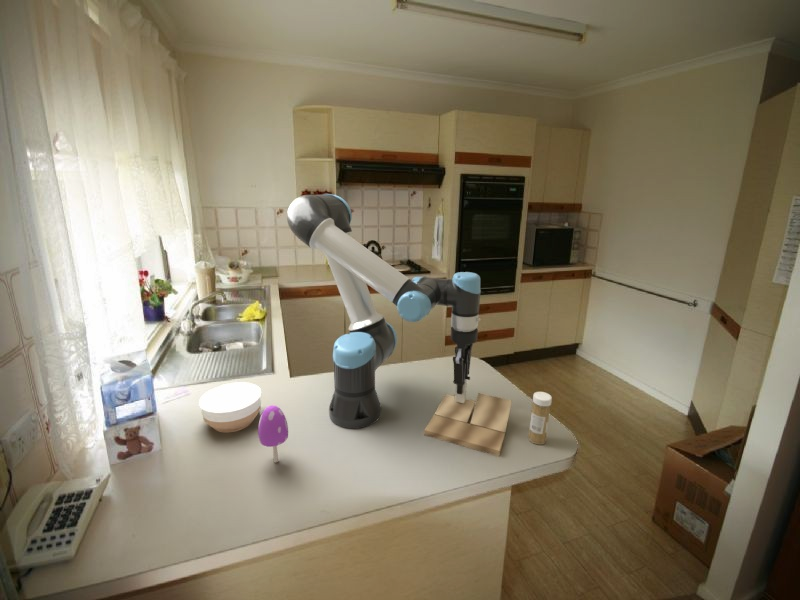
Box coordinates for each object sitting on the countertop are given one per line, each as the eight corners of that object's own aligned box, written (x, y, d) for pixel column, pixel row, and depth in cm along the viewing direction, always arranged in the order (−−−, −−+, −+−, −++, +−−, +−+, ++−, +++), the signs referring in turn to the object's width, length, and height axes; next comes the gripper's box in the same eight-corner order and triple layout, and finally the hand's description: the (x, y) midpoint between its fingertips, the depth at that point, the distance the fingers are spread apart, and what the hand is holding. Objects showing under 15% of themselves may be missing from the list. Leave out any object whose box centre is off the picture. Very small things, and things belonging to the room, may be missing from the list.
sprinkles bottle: (549, 441, 103) (555, 396, 100) (538, 447, 101) (544, 401, 97) (534, 432, 107) (541, 389, 103) (523, 438, 105) (529, 393, 101)
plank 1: (434, 417, 112) (434, 414, 112) (445, 397, 121) (445, 394, 120) (466, 425, 109) (466, 422, 108) (475, 404, 117) (475, 401, 117)
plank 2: (470, 425, 109) (470, 423, 108) (478, 394, 115) (478, 392, 114) (505, 434, 105) (505, 432, 104) (511, 402, 111) (511, 400, 110)
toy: (274, 474, 90) (269, 418, 86) (255, 463, 93) (249, 408, 89) (296, 458, 95) (292, 404, 91) (277, 448, 99) (273, 396, 94)
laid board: (424, 435, 105) (424, 429, 105) (435, 416, 113) (435, 412, 113) (498, 456, 97) (499, 450, 97) (505, 435, 106) (505, 430, 105)
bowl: (238, 400, 120) (236, 377, 118) (275, 415, 113) (273, 391, 110) (189, 426, 107) (185, 401, 105) (227, 446, 99) (224, 419, 97)
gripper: (471, 338, 102) (467, 415, 109) (483, 321, 114) (478, 392, 121) (444, 333, 105) (441, 409, 112) (458, 317, 117) (454, 387, 124)
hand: (460, 400), depth 117 cm, fingers closed
